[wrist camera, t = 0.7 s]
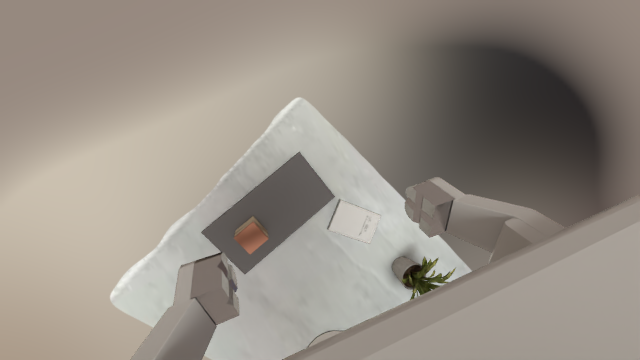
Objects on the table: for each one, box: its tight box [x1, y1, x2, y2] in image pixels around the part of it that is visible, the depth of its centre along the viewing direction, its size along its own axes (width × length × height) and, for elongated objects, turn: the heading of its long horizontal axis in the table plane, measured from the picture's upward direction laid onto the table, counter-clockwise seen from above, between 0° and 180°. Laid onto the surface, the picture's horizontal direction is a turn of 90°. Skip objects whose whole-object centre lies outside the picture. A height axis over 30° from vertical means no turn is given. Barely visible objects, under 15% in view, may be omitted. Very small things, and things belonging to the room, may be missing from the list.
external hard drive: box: [327, 199, 381, 244], centre depth 63 cm, size 2×8×12 cm
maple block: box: [234, 216, 269, 254], centre depth 54 cm, size 5×5×5 cm
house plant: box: [392, 257, 455, 300], centre depth 61 cm, size 14×14×16 cm
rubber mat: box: [201, 152, 335, 274], centre depth 57 cm, size 14×28×1 cm, turn 129°
